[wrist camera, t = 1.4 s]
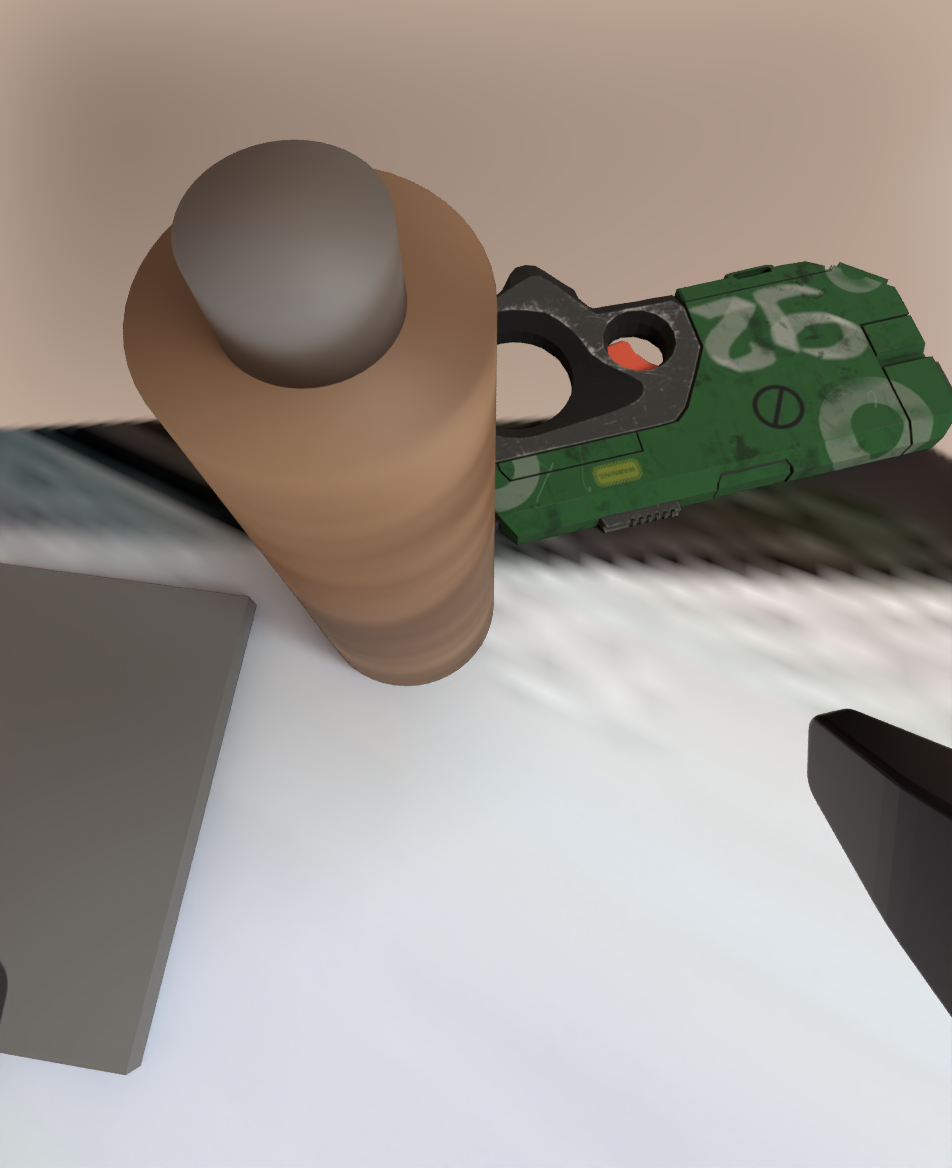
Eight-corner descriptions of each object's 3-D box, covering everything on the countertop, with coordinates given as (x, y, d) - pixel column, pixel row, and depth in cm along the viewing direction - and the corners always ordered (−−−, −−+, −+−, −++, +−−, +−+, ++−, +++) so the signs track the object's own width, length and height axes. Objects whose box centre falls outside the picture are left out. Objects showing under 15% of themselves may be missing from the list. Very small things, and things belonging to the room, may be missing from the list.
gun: (849, 187, 26) (981, 432, 23) (831, 220, 27) (954, 456, 24) (390, 284, 25) (459, 554, 22) (395, 313, 26) (461, 572, 23)
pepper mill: (480, 697, 21) (464, 435, 8) (309, 673, 22) (4, 381, 8) (503, 536, 23) (523, 87, 9) (343, 515, 23) (138, 53, 10)
